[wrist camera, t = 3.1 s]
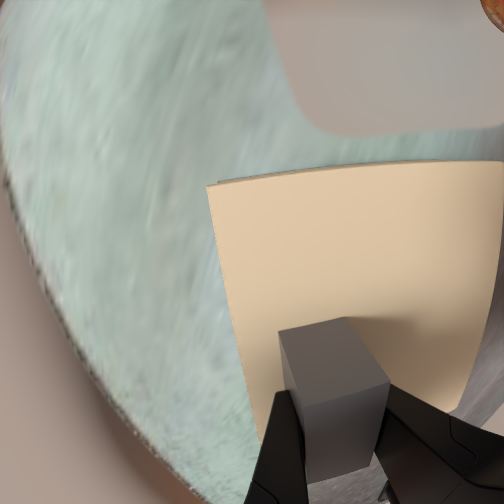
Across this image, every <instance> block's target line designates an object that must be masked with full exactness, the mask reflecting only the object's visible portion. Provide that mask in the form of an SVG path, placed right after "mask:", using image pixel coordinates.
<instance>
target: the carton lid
mask: <svg viewBox="0 0 504 504" xmlns="http://www.w3.org/2000/svg"><path fill="white" fill-rule="evenodd" d="M207 193H208V199H209V205H210V210H211V216H212V221H213V227H214V232H215V238H216V243H217V248H218V254H219V259H220V264H221V269H222V274H223V279H224V284H225V289H226V294H227V299H228V304H229V309H230V314H231V319H232V323H233V328H234V333H235V337H236V342H237V347H238V351H239V356H240V360H241V365H242V369H243V374H244V378H245V382H246V387H247V391H248V395H249V400H250V404H251V408H252V412H253V416H254V420H255V425H256V429H257V433H258V437H259V441H260V445H262V442H263V438H264V434H265V431H266V427H267V423H268V419H269V415H270V411H271V407H272V403H273V399H274V395H275V393H276V392H277V391H282V390H289V392H290V395H291V398H292V401H293V403H294V406H295V409H296V412H297V415H298V418H299V421H300V427H301V435H302V444H303V453H304V462H305V471H306V480H307V484H311V483H315V482H319V481H323V480H326V479H330V478H334V477H337V476H340V475H344V474H347V473H350V472H353V471H356V470H359V469H362V468H365V467H368V466H369V465H370V462H371V459H372V456H373V452H374V449H375V446H376V442H377V439H378V435H379V431H380V427H381V424H382V420H383V416H384V411H385V407H386V403H387V398H388V393H389V388H390V383H391V384H393V385H395V386H397V387H398V388H400V389H402V390H404V391H406V392H408V393H410V394H411V395H413V396H415V397H417V398H419V399H421V400H423V401H425V402H426V403H428V404H430V405H432V406H434V407H436V408H438V409H440V410H442V411H444V412H446V413H448V412H450V411H452V410H454V409H456V408H457V406H458V403H459V401H460V399H461V396H462V394H463V392H464V389H465V387H466V384H467V381H468V379H469V376H470V373H471V371H472V368H473V365H474V362H475V359H476V356H477V353H478V350H479V347H480V343H481V340H482V336H483V333H484V329H485V326H486V322H487V318H488V314H489V309H490V305H491V301H492V296H493V291H494V286H495V280H496V274H497V268H498V261H499V254H500V245H501V235H502V223H503V204H504V167H503V162H499V161H425V162H403V163H386V164H372V165H360V166H348V167H338V168H328V169H318V170H310V171H301V172H293V173H285V174H278V175H271V176H264V177H257V178H250V179H244V180H237V181H231V182H225V183H219V184H214V185H208V186H207Z"/></svg>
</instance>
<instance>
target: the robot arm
mask: <svg viewBox="0 0 504 504" xmlns="http://www.w3.org/2000/svg"><path fill="white" fill-rule="evenodd" d="M374 452H375V454H376V456H377V458H378V460H379V462H380V464H381V466H382V468H383V470H384V472H385V474H386V476H387V478H388V481H387V482H386V484H385V486H384V488H383V490H382V492H381V494H380V496H379V498H378V501H379V502H382V501H385V500H387V499H388V500H389V502H390V504H504V436H501V435H498V434H495V433H492V432H488V431H486V430H483V429H480V428H478V427H475V426H473V425H470V424H468V423H466V422H464V421H462V420H460V419H458V418H456V417H454V416H450V415H449V414H448V413H446V412H444V411H442V410H440V409H438V408H436V407H434V406H432V405H430V404H428V403H426V402H425V401H423V400H421V399H419V398H417V397H415V396H413V395H411V394H410V393H408V392H406V391H404V390H402V389H400V388H398V387H397V386H395V385H393V384H391V383H390V388H389V393H388V398H387V403H386V407H385V411H384V416H383V420H382V424H381V427H380V431H379V435H378V439H377V442H376V446H375V449H374ZM244 504H309V499H308V490H307V480H306V471H305V462H304V453H303V444H302V435H301V427H300V421H299V418H298V415H297V412H296V409H295V406H294V403H293V401H292V398H291V395H290V392H289V390H282V391H277V392H276V393H275V395H274V399H273V403H272V407H271V411H270V415H269V419H268V423H267V427H266V431H265V434H264V438H263V442H262V445H261V449H260V453H259V456H258V460H257V463H256V467H255V470H254V474H253V477H252V481H251V483H250V487H249V490H248V493H247V496H246V499H245V501H244Z"/></svg>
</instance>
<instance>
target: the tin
mask: <svg viewBox="0 0 504 504" xmlns="http://www.w3.org/2000/svg"><path fill="white" fill-rule="evenodd" d="M480 1H481V4H482V7H483V9H484V11H485V13H486V15H487V16H488V18H489V19H490V20H491V22H492V23H493V24H494V25H495V26H496V27H497V28H498V29H500V30H501V31H502V32H504V0H480Z"/></svg>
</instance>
